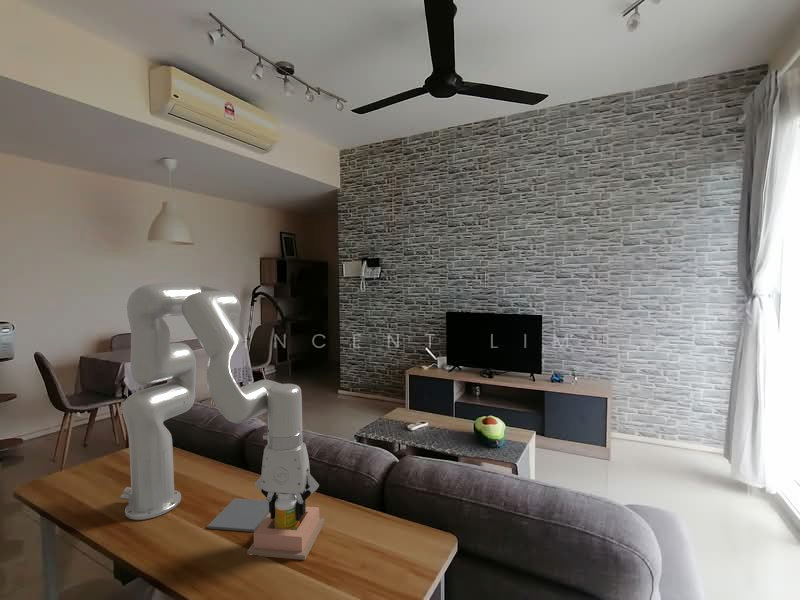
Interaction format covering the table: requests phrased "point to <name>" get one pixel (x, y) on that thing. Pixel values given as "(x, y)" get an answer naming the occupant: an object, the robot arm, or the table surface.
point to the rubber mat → (241, 515)
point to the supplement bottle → (286, 512)
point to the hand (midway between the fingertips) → (287, 515)
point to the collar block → (287, 537)
